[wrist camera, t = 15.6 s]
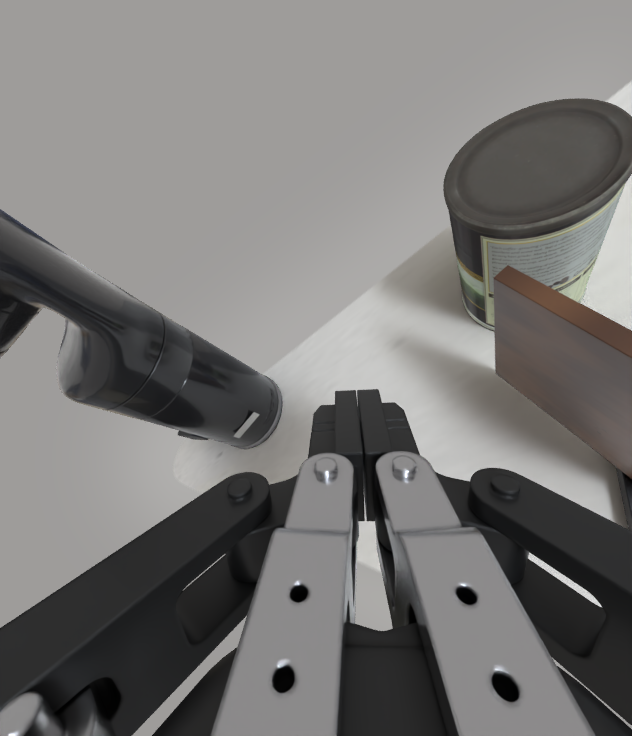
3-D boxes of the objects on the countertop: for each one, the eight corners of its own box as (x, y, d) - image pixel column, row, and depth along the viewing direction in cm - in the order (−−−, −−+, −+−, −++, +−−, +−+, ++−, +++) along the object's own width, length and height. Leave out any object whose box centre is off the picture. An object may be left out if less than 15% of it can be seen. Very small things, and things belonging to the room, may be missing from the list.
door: (494, 374, 29) (491, 279, 17) (505, 364, 28) (509, 262, 17) (660, 503, 21) (846, 485, 10) (675, 491, 21) (882, 459, 10)
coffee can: (440, 307, 35) (412, 205, 24) (502, 233, 35) (503, 94, 24) (540, 355, 29) (566, 248, 18) (614, 265, 29) (689, 99, 18)
